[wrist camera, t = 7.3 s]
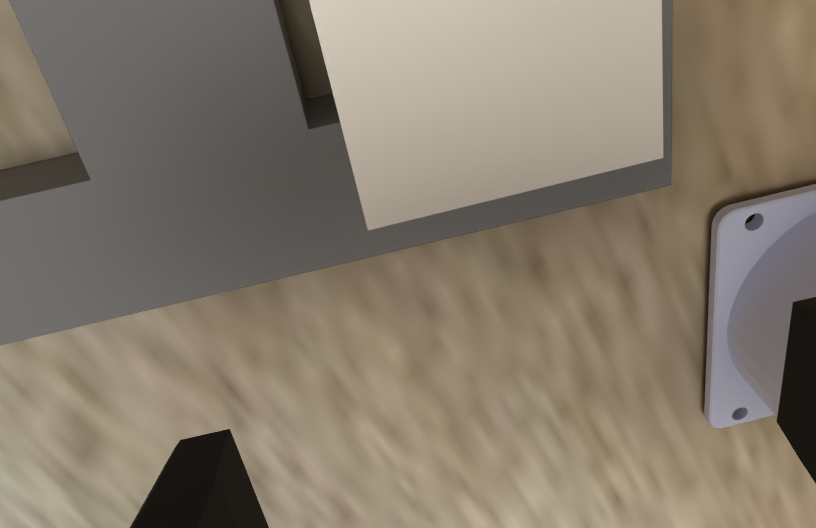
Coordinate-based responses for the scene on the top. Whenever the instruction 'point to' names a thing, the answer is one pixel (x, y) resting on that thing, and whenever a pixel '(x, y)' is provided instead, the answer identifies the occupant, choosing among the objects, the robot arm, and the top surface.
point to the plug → (489, 96)
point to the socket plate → (206, 166)
